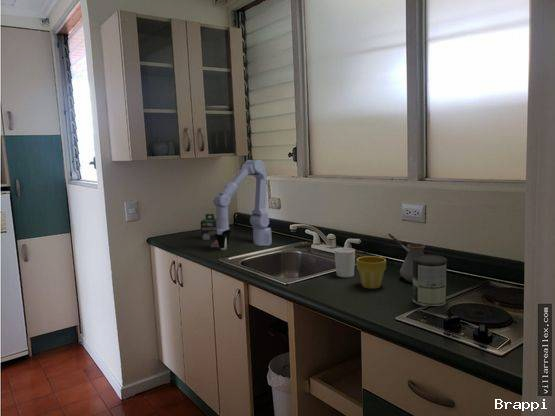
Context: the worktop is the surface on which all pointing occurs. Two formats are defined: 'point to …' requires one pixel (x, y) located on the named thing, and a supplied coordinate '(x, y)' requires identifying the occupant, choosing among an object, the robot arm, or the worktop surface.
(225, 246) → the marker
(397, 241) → the coffee pot
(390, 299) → the worktop surface
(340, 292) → the worktop surface
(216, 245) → the button housing
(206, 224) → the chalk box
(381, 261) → the plant pot
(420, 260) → the coffee can
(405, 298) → the worktop surface
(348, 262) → the white cup
